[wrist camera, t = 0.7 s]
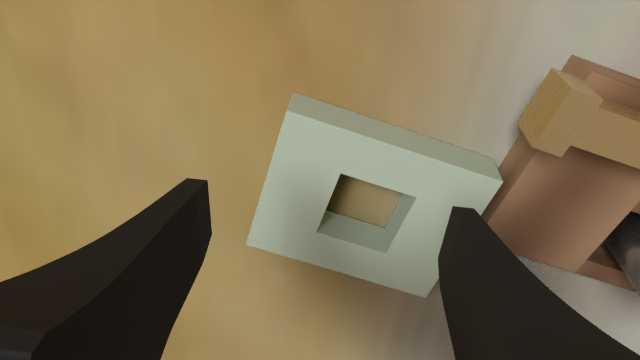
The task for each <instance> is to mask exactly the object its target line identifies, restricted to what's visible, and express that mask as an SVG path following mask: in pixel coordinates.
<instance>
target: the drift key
mask: <svg viewBox="0 0 640 360" xmlns="http://www.w3.org/2000/svg"><path fill="white" fill-rule="evenodd" d="M517 124H518V126H519V127H520V129H521V131H522V132H523V134H524V135H525V137H526V139H527V140H528V142H529V143H530V145H531V147H533V148H535V149H538V150H541V151H544V152H547V153H550V154H553V155H556V156H559V157H562V156H563V155H564V153H565V152H566V151H567V149H568V148H569V146H570V145H571V146H574V147H577V148H580V149H583V150H586V151H589V152H591V153H594V154H597V155H600V156H603V157H606V158H609V159H612V160H615V161H618V162H621V163H623V164H626V165H629V166H632V167H635V168H638V169H640V111H637V110H634V109H632V108H629V107H626V106H623V105H620V104H618V103H615V102H612V101H609V100H606V99H604V98H601V97H600V96H599V95H598V94H597V93H596V92H595V91H594V90H593V89H592V88H590V87H589V86H588V85H587V84H586V83H585V82H584V81H583V80H582V79H581V78H578V77H575V76H573V75H570V74H567V73H564V72H561V71H559V70H556V69H553V68H551V70H550V71H549V73H548V75H547V76H546V78H545V79H544V81H543V82H542V84H541V86H540V87H539V89H538V90H537V92H536V93H535V95H534V97H533V98H532V100H531V101H530V103H529V105H528V106H527V108H526V109H525V111H524V112H523V114H522V116H521V117H520V119H519V120H518V122H517Z"/></svg>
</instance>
